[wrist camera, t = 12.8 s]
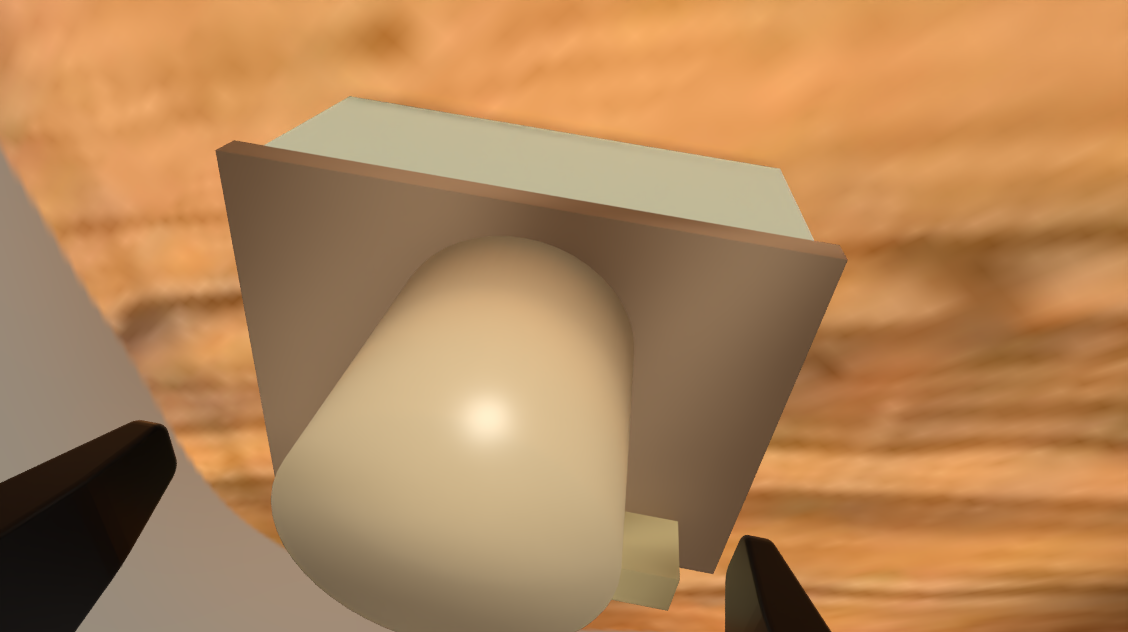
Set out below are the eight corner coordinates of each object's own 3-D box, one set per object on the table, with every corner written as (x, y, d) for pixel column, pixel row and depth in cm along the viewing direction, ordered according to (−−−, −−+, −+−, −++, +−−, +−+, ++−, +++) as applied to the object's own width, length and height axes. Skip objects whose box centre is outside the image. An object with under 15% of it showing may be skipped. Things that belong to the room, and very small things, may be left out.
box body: (779, 168, 16) (817, 246, 12) (692, 432, 20) (699, 545, 17) (349, 96, 16) (256, 149, 12) (365, 371, 21) (302, 468, 17)
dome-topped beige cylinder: (611, 453, 14) (591, 675, 10) (398, 413, 14) (292, 614, 10) (657, 261, 12) (655, 457, 7) (393, 215, 12) (245, 379, 8)
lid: (839, 244, 12) (873, 306, 10) (711, 554, 17) (718, 633, 15) (234, 140, 12) (156, 180, 10) (288, 472, 17) (242, 539, 15)
